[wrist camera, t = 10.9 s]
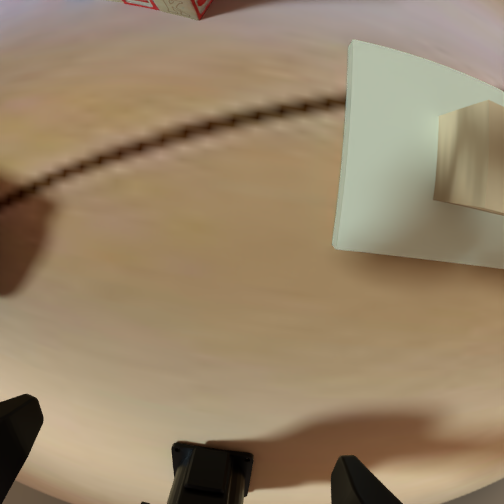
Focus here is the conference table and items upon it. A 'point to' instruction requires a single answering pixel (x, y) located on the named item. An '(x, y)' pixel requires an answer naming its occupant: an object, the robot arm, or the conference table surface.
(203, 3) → the stack of blocks
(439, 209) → the sage board
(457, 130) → the beige cube
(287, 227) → the conference table surface
